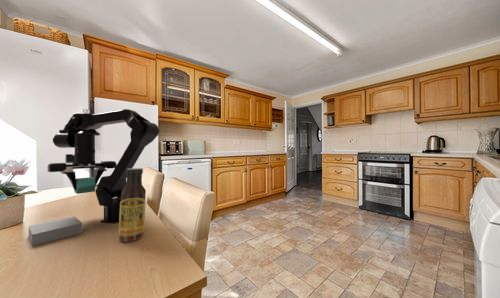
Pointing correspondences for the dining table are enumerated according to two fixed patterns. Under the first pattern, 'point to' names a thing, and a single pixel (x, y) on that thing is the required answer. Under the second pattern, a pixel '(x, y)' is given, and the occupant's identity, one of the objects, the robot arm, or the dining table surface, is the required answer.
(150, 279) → the dining table surface
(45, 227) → the gray plinth
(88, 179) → the teal cube
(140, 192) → the sauce bottle
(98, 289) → the dining table surface
